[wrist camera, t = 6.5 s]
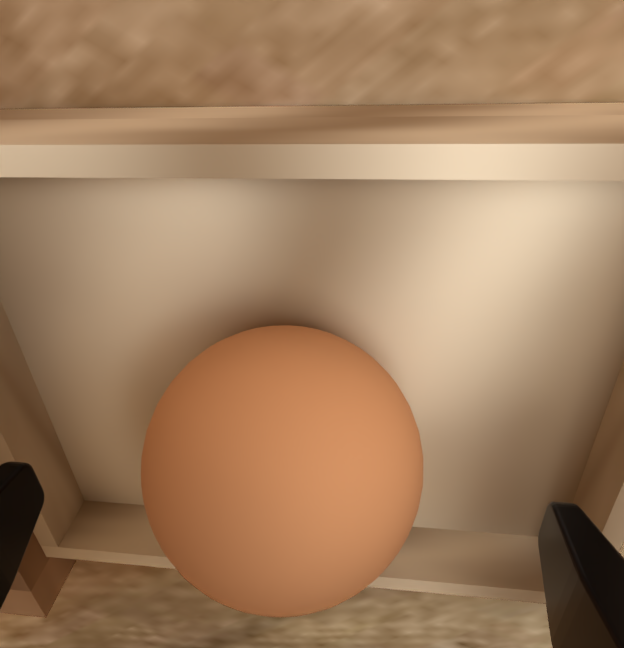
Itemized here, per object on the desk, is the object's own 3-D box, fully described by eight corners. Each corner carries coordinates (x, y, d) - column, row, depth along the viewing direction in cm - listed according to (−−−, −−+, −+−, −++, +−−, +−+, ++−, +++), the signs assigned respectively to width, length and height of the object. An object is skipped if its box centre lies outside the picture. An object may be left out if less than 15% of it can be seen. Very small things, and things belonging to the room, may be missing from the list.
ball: (426, 278, 10) (452, 493, 6) (408, 459, 13) (419, 691, 9) (171, 271, 11) (42, 466, 7) (207, 447, 14) (130, 659, 10)
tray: (721, 101, 9) (812, 143, 7) (567, 525, 15) (592, 607, 13) (-70, 109, 10) (-171, 145, 9) (85, 487, 17) (46, 556, 15)
